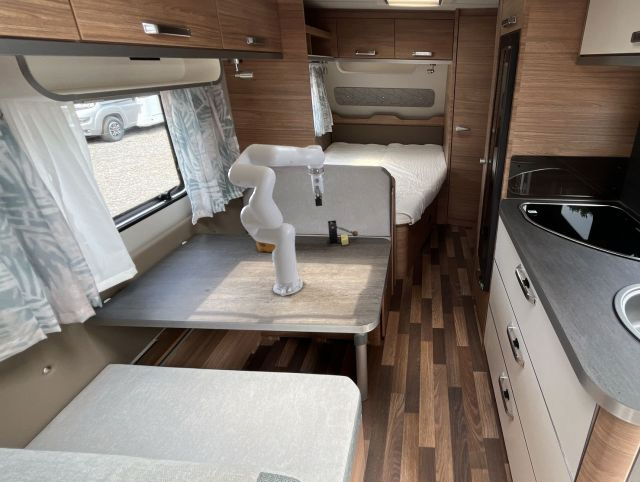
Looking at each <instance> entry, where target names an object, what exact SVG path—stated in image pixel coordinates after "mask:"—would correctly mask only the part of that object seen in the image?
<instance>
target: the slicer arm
mask: <svg viewBox="0 0 640 482" xmlns="http://www.w3.org/2000/svg"><path fill="white" fill-rule="evenodd" d="M330 224H333V222H331V223H330ZM337 230H340V231H344V232H346V233H349V234H352V236H353V237H357V236H358V235H359V232H358V231H357V230H354V231H352V230H349V229H347V228H345V227H342V226H339V225H337Z"/></svg>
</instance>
